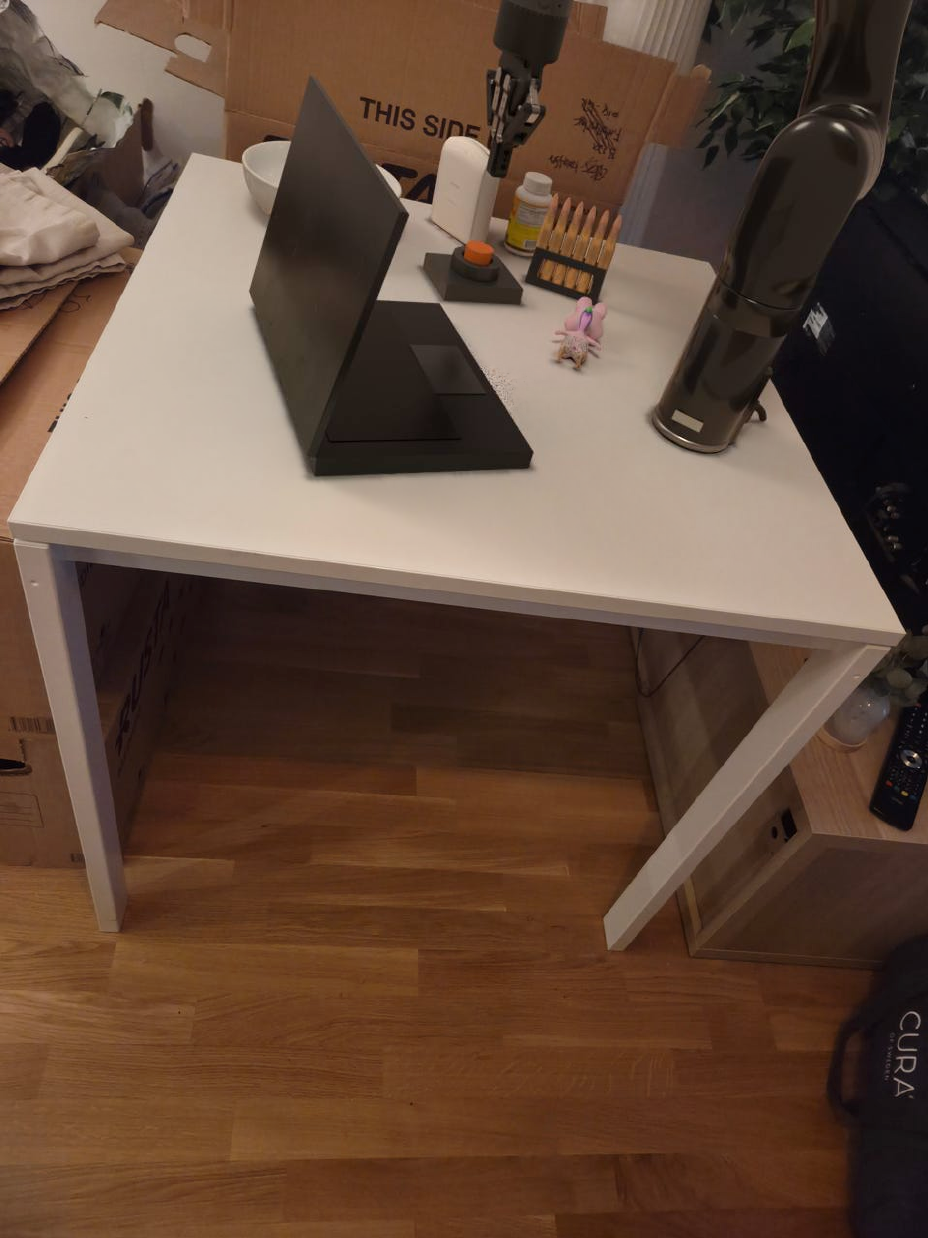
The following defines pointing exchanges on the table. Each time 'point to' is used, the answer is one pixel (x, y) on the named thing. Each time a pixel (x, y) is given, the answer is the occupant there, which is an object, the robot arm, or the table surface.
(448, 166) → the photo printer
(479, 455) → the laptop
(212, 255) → the table surface
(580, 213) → the ammunition clip
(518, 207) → the supplement bottle
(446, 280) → the switch box
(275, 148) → the serving bowl
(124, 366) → the table surface
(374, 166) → the laptop screen
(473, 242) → the power button
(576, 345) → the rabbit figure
